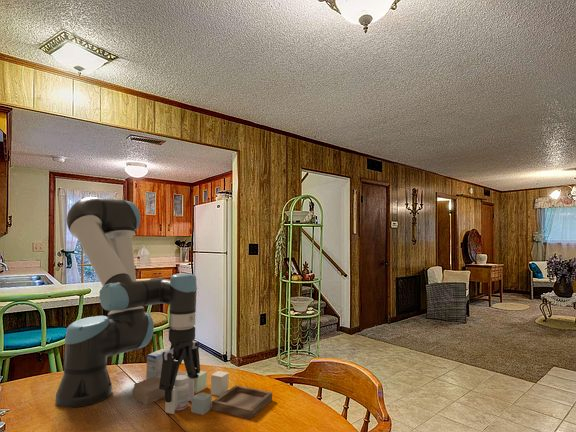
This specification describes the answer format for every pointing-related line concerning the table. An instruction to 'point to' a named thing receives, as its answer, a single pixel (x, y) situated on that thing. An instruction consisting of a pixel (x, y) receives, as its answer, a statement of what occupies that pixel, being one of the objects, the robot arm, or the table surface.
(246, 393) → the tray
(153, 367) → the medicine box
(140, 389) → the brick
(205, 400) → the blue-grey block
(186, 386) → the pill bottle
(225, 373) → the cream block
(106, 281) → the robot arm
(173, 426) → the table surface
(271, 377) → the table surface
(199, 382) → the sage block
